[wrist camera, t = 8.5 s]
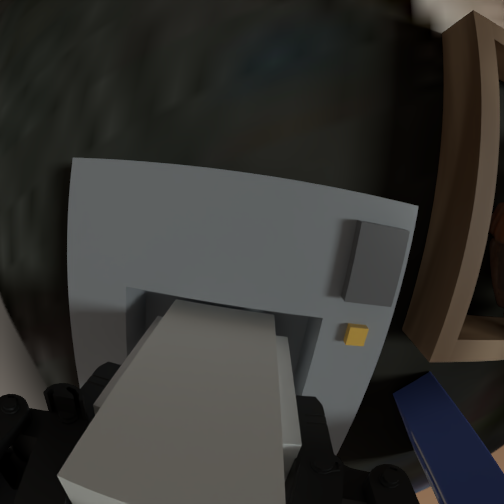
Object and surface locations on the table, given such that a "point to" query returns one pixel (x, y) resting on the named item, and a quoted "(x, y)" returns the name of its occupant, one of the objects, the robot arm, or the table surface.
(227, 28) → the table surface
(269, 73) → the table surface
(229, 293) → the socket plate
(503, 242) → the pottery mug
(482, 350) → the mug frame
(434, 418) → the walkman
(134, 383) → the plug
